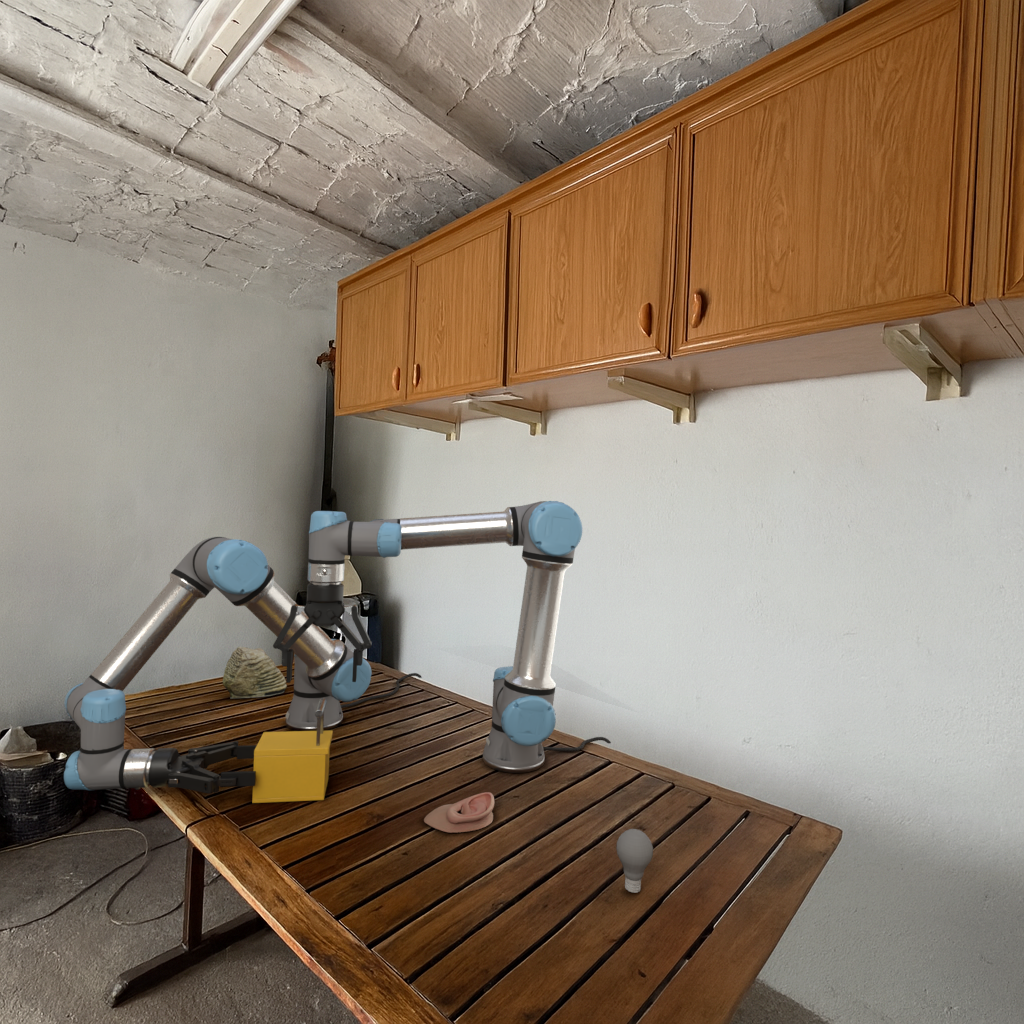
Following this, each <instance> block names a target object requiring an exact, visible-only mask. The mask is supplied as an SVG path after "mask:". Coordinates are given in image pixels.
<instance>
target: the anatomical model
mask: <svg viewBox="0 0 1024 1024" xmlns="http://www.w3.org/2000/svg"><path fill="white" fill-rule="evenodd" d="M494 808H495V797H494V794H493V793H492V792H490V791H486V792H481V793H477V794H474V795H471V796H468V797H466V798H463V799H462V800H459V801H456V802H455V803H449V804H448V803H447V804H444V805H441V806H439V807H436V808H435V809H433V810H432V811H430V812H429V813H428V814H426V815H425V817H424V818H423V822H424V823H425V824H426V825H428V826H429V827H431V828H433V829H435V830H438V831H441V832H444V833H450V834H453V833H454V834H455V833H464V832H472V831H477V830H480V829H483V828H485V827H487V826H489V825H491V824H492V822H493V820H494V813H493V810H494Z"/></svg>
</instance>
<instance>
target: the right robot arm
mask: <svg viewBox="0 0 1024 1024" xmlns="http://www.w3.org/2000/svg"><path fill="white" fill-rule="evenodd" d="M309 523H310V524H309V531H308V562H307V563H308V565H307V581H308V582H309V583H308V584H307V585H306V587H307V588H306V604H305V605H301V604H300V605H299V604H298V603H296V604H293V606H292V607H291V611H290V616H289V618H288V620H287V621H286V623H285V625H284V627H283V628H282V630H281V632H280V634H279V636H278V637H277V636H276V639H275V641H274V642H273V645H272V647H273V649H275V650H276V649H277V650H280V651H281V666H282V667H286V676H285V680H286V684H287V683H288V684H290V683H291V682H292V680H293V662H294V661H293V658H294V653H293V649H289V648H290V647H291V646H292V645H293V644H294V643H295V642H296V641H297V639H298V638H299V637H300V636H301V635H302V634H303V633H304V632H305V631H306V630H307V629H308V628H309V627H310V626H311V625H312V624H314V625H315V626H319V627H323V626H324V627H328V628H329V627H333V626H336V628H337V629H339V630H340V631H341V633H342V635H344V637H345V638H346V639H347V640H348V641H349V642H350V643H351V645H352V646H353V647H354V649H353V651H352V652H353V677H352V682H356V679H357V666H361V665H362V661H363V658H364V657H363V656H364V651H365V650H367V649H370V648H372V643H373V642H372V640H371V638H370V635H369V634H368V632H367V630H366V628H365V626H364V624H363V621H362V620H361V617H360V615H359V608H358V604H355V603H354V604H352V605H346V606H345V604H344V588H345V586H344V584H343V582H344V581H345V567H346V566H345V565H346V563H345V559H346V556H348V557H353V556H354V557H355V556H356V557H376V558H377V557H378V558H383V559H385V558H397V557H399V556H400V555H401V553H402V550H403V551H404V550H417V549H433V548H446V547H461V546H475V545H489V544H490V545H491V544H502V543H504V544H507V545H508V546H509V547H522V552H521V559H522V560H523V561H524V563H525V564H526V572H525V580H524V587H523V593H522V600H521V601H522V602H521V606H520V607H521V608H520V615H519V622H518V628H517V636H516V642H515V643H516V644H515V651H514V657H513V659H514V660H513V664H512V666H511V665H510V666H509V665H508V666H501V667H498V668H496V669H495V670H494V673H493V679H492V682H493V686H492V687H493V689H492V707H491V708H492V709H491V729H490V732H489V734H488V736H486V738H485V745H484V748H483V752H482V762H483V763H484V764H485V765H486V766H487V767H489V768H490V769H493V770H495V771H498V772H503V773H510V774H511V773H512V774H522V773H529V772H535V771H537V770H539V769H540V768H542V767H543V766H544V764H545V760H546V759H545V758H546V757H545V756H546V755H545V751H551V752H579V751H581V750H583V749H584V747H585V745H587V744H589V743H593V742H597V741H603V742H604V743H606V744H612V742H611V741H610V740H609V738H606V737H603V736H595V737H592V738H588V739H585V740H583V741H582V742H581V744H580V745H579V746H576V747H555V746H543V743H544V742H545V741H546V740H547V739H549V738H550V737H551V735H552V734H553V732H554V730H555V727H556V722H557V718H556V717H557V716H556V710H555V708H554V701H555V695H556V694H555V693H556V684H557V683H556V681H555V680H554V679H553V678H552V676H551V673H552V665H553V658H554V652H555V644H556V637H557V630H558V623H559V617H560V616H559V615H560V609H561V601H562V594H563V587H564V580H565V575H566V574H565V573H566V571H567V570H568V569H570V567H571V566H573V564H574V558H575V552H576V551H575V550H576V548H577V547H578V546H579V545H580V542H581V540H582V538H583V537H582V536H583V523H582V519H581V517H580V515H579V514H578V513H577V511H576V510H575V509H574V508H573V507H571V506H570V505H568V504H566V503H564V502H562V501H558V500H542V501H541V500H540V501H537V502H533V503H529V504H523V505H517V506H508V507H506V508H505V509H504V510H503V511H492V512H490V511H489V512H479V513H478V512H477V513H463V514H462V513H461V514H447V515H446V514H445V515H433V516H420V517H419V516H415V517H402V518H388V519H387V518H386V519H384V518H376V519H375V518H374V519H373V520H371V521H353V520H348V517H347V513H346V512H344V511H333V510H316V511H313V512H311V515H310V522H309ZM302 611H304V612H305V614H306V615H307V617H308V618H309V619H308V620H307V621H306V622H305V623H304V624H303V625H302V626H301V627H300V628H299V629H298V630H297V632H296V633H295V634H294V635H293V636H292V637H291V638H290V639H289V640H288V641H287V642H286V643H283V642H282V641H283V639H284V638H285V636H286V634H287V632H288V630H289V629H290V627H291V625H292V623H293V622H294V620H295V618H296V616H298V615H300V614H301V612H302ZM345 613H347V614H348V616H349V617H351V618H352V621H353V623H354V625H355V627H356V629H357V631H358V634H359V636H360V638H361V640H362V642H361V640H359V638H358V637H357V636H356V635H355V634H354V632H353V631H352V630H351V629H350V628H349V626H348V625H347V624H346V622H345V621H344V619H342V616H343V615H344V614H345Z"/></svg>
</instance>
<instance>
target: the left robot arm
mask: <svg viewBox="0 0 1024 1024" xmlns="http://www.w3.org/2000/svg"><path fill="white" fill-rule="evenodd" d="M214 589H216V590H217V591H218V592H219V593H220V594H222V595H223V597H224V598H226V599H227V600H228V601H229V602H230V603H231V604H232V605H233V606H235V607H245V608H246V609H248V611H249V612H251V613H252V614H253V615H254V616H255V617H256V618H257V619H258V620H259V621H260V622H261V623H262V624H263V625H264V626H265V627H266V628H267V629H269V631H270V632H271V633H273V634H274V636H276V638H277V637H278V636H279V634H280V632H281V630H282V628H283V627H284V625H285V623H286V621H287V620H288V618H289V616H290V611H291V607H292V606H293V604H297V602H296V601H294V599H292V597H291V596H290V595H289V594H288V593H287V592H286V591H285V590H284V589H283V588H282V587H281V585H279V583H277V581H275V570H274V569H273V568H272V567H271V566H270V565H269V562H268V560H267V556H266V555H265V553H264V552H263V551H262V550H261V549H260V548H259V547H258V546H256V545H255V544H253V543H252V542H249V541H247V540H243V539H235V538H228V537H224V536H211V537H208V538H205V539H202V540H201V541H200V542H199V543H197V544H196V545H194V547H192V548H191V549H190V550H189V551H188V553H187V554H185V556H184V557H183V558H182V559H181V560H180V562H179V563H178V564H177V565H176V566H175V567H174V569H173V570H172V571H171V572H170V573H169V581H168V583H166V585H165V586H164V588H162V590H161V591H160V593H158V594H157V596H156V597H155V598H154V599H153V601H152V602H151V603H150V604H149V605H148V606H147V607H146V609H145V610H144V611H143V612H142V614H140V616H139V617H138V618H137V620H136V621H135V622H134V623H133V624H132V626H130V628H129V629H128V630H127V631H126V633H125V634H124V635H123V636H122V637H121V638H120V640H119V641H118V642H117V643H116V644H115V645H114V646H113V648H111V650H110V651H109V653H108V654H107V655H106V656H105V657H104V658H103V659H102V661H101V662H100V663H99V664H98V666H97V667H96V668H95V669H94V670H93V671H92V672H91V674H90V675H89V676H88V677H87V678H86V679H85V680H84V682H80V683H78V684H76V685H74V686H73V687H72V688H70V689H69V690H68V692H67V693H66V695H65V697H64V707H65V711H66V713H67V715H68V716H69V717H70V718H71V720H73V721H74V722H75V724H76V725H77V726H78V728H79V729H80V747H79V749H80V750H75V751H74V752H72V753H71V755H70V756H68V758H67V761H66V763H65V768H64V769H65V770H63V782H64V785H65V786H66V787H67V789H70V790H73V791H75V790H76V791H90V792H93V791H99V790H101V791H102V790H115V789H116V790H118V789H135V790H137V791H138V790H140V789H142V788H143V789H144V788H147V789H148V788H149V787H152V788H180V789H184V790H188V791H194V792H199V793H202V794H203V793H204V794H212V793H213V794H216V793H217V794H218V793H219V792H220V788H234V787H235V788H236V787H253V786H255V783H256V771H253V770H246V771H245V770H241V771H222V772H220V774H219V773H215V772H213V771H211V770H208V769H207V768H208V767H209V766H210V765H214V764H219V763H221V762H225V761H228V760H230V759H234V758H236V760H250V759H251V760H254V750H255V748H256V746H257V744H250V745H249V744H248V745H245V744H244V745H239V741H238V740H234V741H229V742H224V743H219V744H214V745H207V746H202V747H193V748H191V747H190V748H188V750H187V751H188V752H187V754H183V755H181V754H179V750H178V749H177V748H175V747H161V748H158V749H156V748H154V747H151V748H149V747H148V748H125V730H126V729H125V727H126V711H127V705H126V694H125V692H124V690H125V689H126V688H127V687H128V685H129V684H130V683H131V682H132V681H133V679H134V678H135V677H136V676H137V675H138V674H139V672H140V671H141V670H142V669H143V667H144V666H145V665H146V663H147V662H148V661H149V660H150V659H151V657H152V656H153V655H154V654H155V653H156V651H158V649H159V648H160V646H162V644H163V643H164V642H165V641H166V639H167V638H168V636H170V634H171V633H172V632H173V631H174V629H176V627H177V626H178V625H179V624H180V622H181V621H182V620H183V619H184V617H185V616H186V615H187V614H188V612H189V611H190V610H191V609H192V607H194V605H195V604H196V603H197V602H198V600H201V599H204V598H207V596H208V595H209V594H210V592H212V591H213V590H214ZM308 619H309V618H308V617H307V615H306V614H305V612H304V611H302V612H301V614H300V615H298V616H296V618H295V620H294V622H293V623H292V625H291V627H290V629H289V630H288V632H287V634H286V636H285V638H284V639H283V641H282V643H286V642H287V641H288V640H289V639H290V638H291V637H292V636H293V635H294V634H295V633H296V632H297V630H298V629H299V628H300V627H301V626H302V625H303V624H304V623H305V622H306V621H307V620H308ZM289 649H293V658H294V672H293V695H292V696H293V697H292V699H291V702H290V704H289V708H288V710H287V711H286V714H285V716H284V718H285V726H286V728H287V729H289V730H291V731H317V717H316V716H315V712H316V709H317V706H318V703H319V700H320V699H322V698H324V699H326V701H327V703H326V706H325V710H324V726H323V731H330V730H332V729H335V728H337V727H339V726H340V725H342V723H343V722H344V714H343V709H345V708H352V707H354V706H357V705H360V704H362V703H365V702H367V701H371V700H377V699H383V698H387V697H390V696H392V695H394V694H396V693H397V692H398V690H399V689H400V686H401V683H400V682H402V681H403V680H405V679H408V678H410V677H417V678H418V679H422V678H423V677H422V675H421V674H419V673H417V672H411V673H408V674H406V675H403V676H402V677H399V678H398V679H397V680H396V681H395V683H396V686H395V688H394V689H393V690H392V691H390V692H387V693H383V694H377V695H371V696H367V697H363V698H361V697H362V696H363V695H364V694H365V693H366V691H367V690H368V688H369V686H370V684H371V680H372V675H373V674H372V672H373V671H372V667H371V665H370V663H369V661H367V660H366V659H365V658H364V657H363V661H362V665H361V666H357V679H356V682H352V677H353V652H354V651H352V650H351V649H350V648H349V647H348V646H347V645H346V643H344V642H343V641H342V640H341V639H337V638H330V637H329V635H328V634H327V633H326V632H325V631H324V630H323V629H322V628H321V626H315V625H314V624H312V625H311V626H310V627H309V628H308V629H307V630H306V631H305V632H304V633H303V634H302V635H301V636H300V637H299V638H298V639H297V641H296V642H295V643H294V644H293V645H292V646H291V647H290V648H289ZM359 698H360V699H359ZM341 702H343V703H344V704H341ZM345 703H346V704H345Z"/></svg>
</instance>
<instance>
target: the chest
mask: <svg viewBox="0 0 1024 1024" xmlns="http://www.w3.org/2000/svg"><path fill="white" fill-rule="evenodd" d="M330 749H331V747H330V748H329V753H328V754H314V755H281V756H254V759H253V770H252V771H256V783H255V786H252V798H251V799H252V801H251V802H252V804H261V803H265V804H266V803H286V802H308V801H311V802H312V801H324V800H325V798H326V797H325V796H326V792H327V787H328V782H329V774H330V773H329V772H330Z"/></svg>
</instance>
